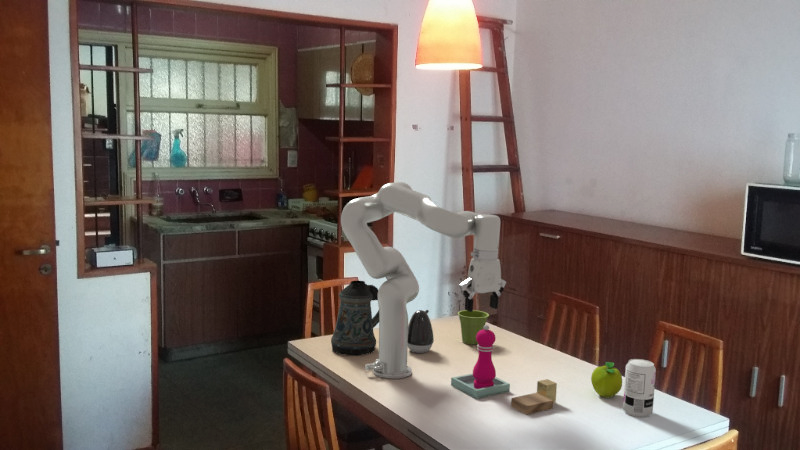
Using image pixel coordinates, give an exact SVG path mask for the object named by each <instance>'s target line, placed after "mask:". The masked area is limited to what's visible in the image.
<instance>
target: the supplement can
mask: <svg viewBox="0 0 800 450" xmlns="http://www.w3.org/2000/svg"><path fill="white" fill-rule="evenodd" d="M656 373H657V369H656V367H655V363H653V362H652V361H651V360H646V359H642V358H641V359H640V358H631V359H629V360H628V362H627V363H626V365H625V373H624V387H623V388H624V389H623V399H622V401H623V402H622V404H623V405H622V409H623V411H624V412H625V413H626V414H627V415H628V416H629V415H630V416H632V417H634V418H635V417H636V418H648V417H650V416H651V415H652V414H653V411H654V401H655V399H654V398H655V387H656Z"/></svg>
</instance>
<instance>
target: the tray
mask: <svg viewBox="0 0 800 450" xmlns="http://www.w3.org/2000/svg"><path fill="white" fill-rule="evenodd" d="M450 380H451V381H450V385H451V386H452V387H453V388H455V389H457V390H459V391H461V392H463V393H465V394H466V395H469V396H470V397H472V398H474V399H476V400H477V399H482V398H486V397H491V396H495V395H500V394H504V393H509V392H510V391H511V390H510V388H511V384H510V383H509V382H507V381H504V380H502V379H500V378H498V377H495V378H494V379H493V380H492V381H493V382H494V386H490V387H486V388H481V389H476V388H474V380H476V379H475V378H474V377H473V373H469V374H464V375H458V376H453V377H450Z"/></svg>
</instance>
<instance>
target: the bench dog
mask: <svg viewBox="0 0 800 450" xmlns="http://www.w3.org/2000/svg"><path fill="white" fill-rule="evenodd" d="M536 384H537V385H536V393H539V394H542V395H544V396H546V397H548V398H550V399H552V400H554V401H553V404H555V403H557V388H558V387H557V386H558V385H557V382H555V381H552V380H550V379H547V378H546V379H542V380H537V383H536Z"/></svg>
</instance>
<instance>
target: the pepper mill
mask: <svg viewBox="0 0 800 450" xmlns="http://www.w3.org/2000/svg"><path fill="white" fill-rule="evenodd" d="M483 328H484V329H483V330H480V331H479V332H478V333H477V335H476V341H477V342H478V344H476V345H477V348H476V349H477V351H478V356H477V357H478V358H477V361H476V363H475V364H474V366H473V369H472V374H473V377H474V378H475V379H476V380H474V388H476V389H481V388H486V387H490V386H494V382H493V381H492V380H493V379H494V378H495V377H496V376H497V373H496V372H497V371H496V368H495V366H494V362H493V358H492V352H493V351H494V347H495V346H494V344H495V342H496V338H497V337H496V334H495V333H494V331H493V330H491V329H490V326H489V325H488V324H485V325H484V327H483Z"/></svg>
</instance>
